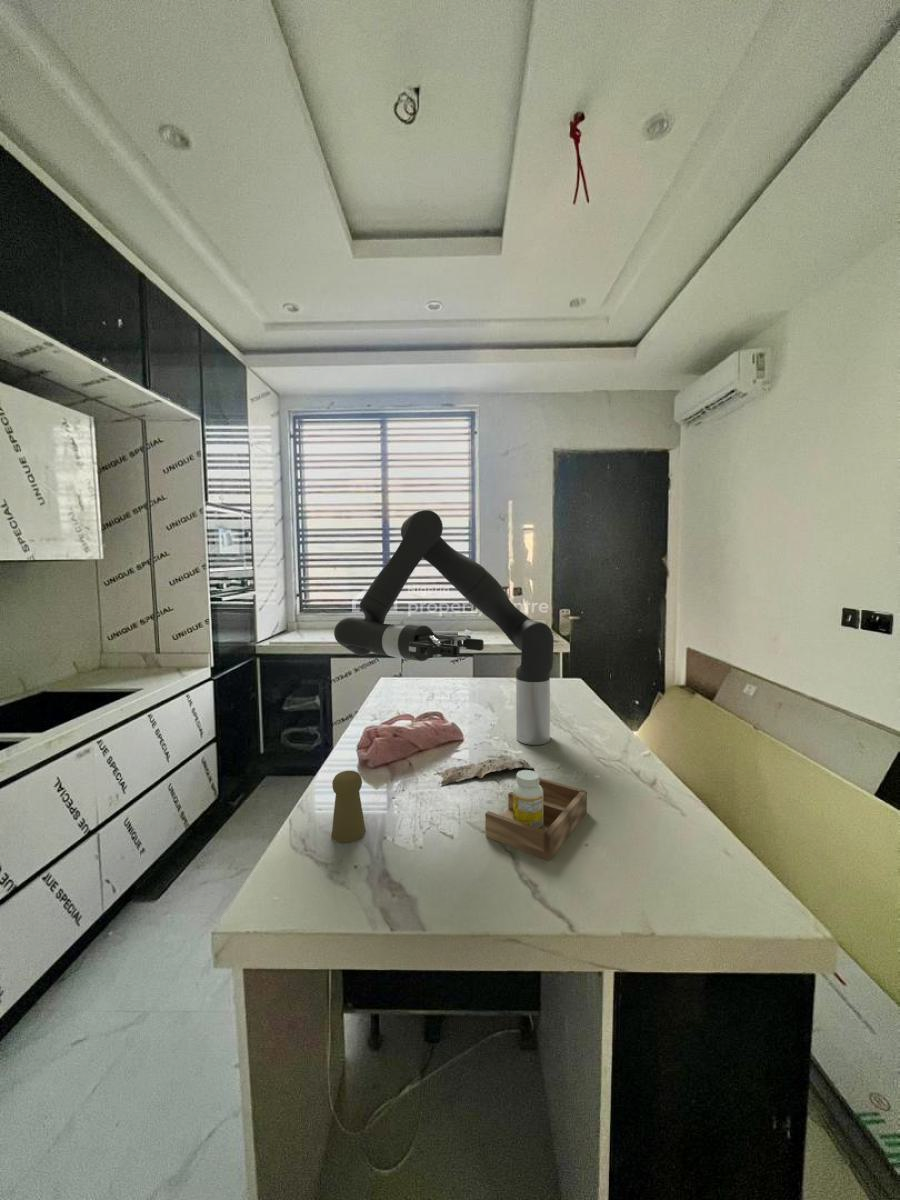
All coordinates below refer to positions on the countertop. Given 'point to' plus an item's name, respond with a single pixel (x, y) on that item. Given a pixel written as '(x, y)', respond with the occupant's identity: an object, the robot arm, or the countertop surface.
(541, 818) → the supplement bottle
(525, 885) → the countertop surface
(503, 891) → the countertop surface
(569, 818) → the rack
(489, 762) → the stone fragment
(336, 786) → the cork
